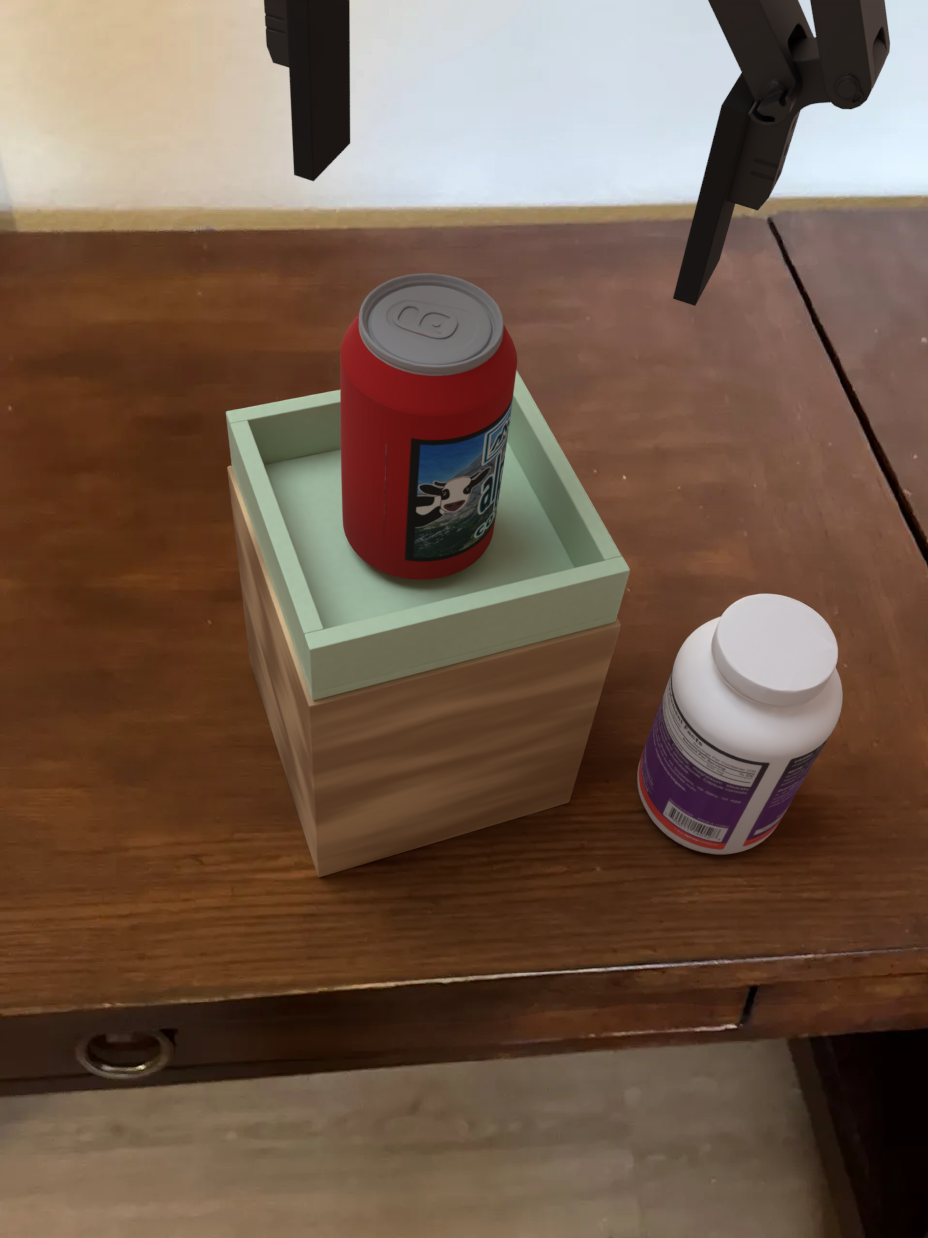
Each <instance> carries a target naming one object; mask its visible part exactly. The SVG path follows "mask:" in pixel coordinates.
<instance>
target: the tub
mask: <svg viewBox="0 0 928 1238" xmlns="http://www.w3.org/2000/svg"><path fill="white" fill-rule="evenodd" d="M225 418H226V428H227V436H228V437H227V438H228V444H229V452H230V453H229V454H230V461H231V462H230V463H231V466H232V469H233V472H234V475H235V478H236V481H237V484H238V487H239V490H240V492H241V495H242V498H243V501H244V504H245V507H246V510H247V513H248V516H249V519H250V521H251V524H252V527H253V530H254V533H255V536H256V539H257V542H258V545H259V548H260V550H261V553H262V556H263V559H264V562H265V565H266V568H267V571H268V574H269V577H270V579H271V582H272V585H273V588H274V591H275V594H276V597H277V600H278V603H279V606H280V608H281V611H282V614H283V617H284V620H285V623H286V626H287V629H288V632H289V635H290V637H291V640H292V643H293V646H294V649H295V652H296V655H297V658H298V661H299V664H300V666H301V669H302V672H303V675H304V678H305V681H306V684H307V687H308V690H309V693H310V695H311V698H312V700H317V699H321V698H325V697H329V696H333V695H337V694H341V693H344V692H348V691H352V690H356V689H360V688H364V687H367V686H371V685H375V684H379V683H383V682H387V681H391V680H394V679H398V678H402V677H406V676H410V675H414V674H417V673H421V672H425V671H429V670H433V669H437V668H441V667H444V666H448V665H452V664H456V663H460V662H464V661H467V660H471V659H475V658H479V657H483V656H487V655H491V654H494V653H498V652H502V651H506V650H510V649H514V648H517V647H521V646H525V645H529V644H533V643H537V642H541V641H544V640H548V639H552V638H556V637H560V636H564V635H567V634H571V633H575V632H579V631H583V630H587V629H591V628H594V627H598V626H602V625H606V624H610V623H614V622H615V621H616V618H617V619H618V614H619V612H620V607H621V605H622V600H623V597H624V593H625V590H626V587H627V583H628V580H629V576H630V573H631V569H630V567H629V565H628V564H627V562H626V560H625V558H624V557H623V556H622V553H621V552H620V550H619V548H618V547H617V545H616V543H615V541H614V539H613V538H612V536H611V534H610V533H609V530H608V529H607V527H606V525H605V524H604V522H603V520H602V518H601V516H600V515H599V513H598V511H597V509H596V508H595V506H594V504H593V502H592V500H591V499H590V497H589V495H588V494H587V491H586V490H585V488H584V486H583V485H582V483H581V480H580V479H579V477H578V475H577V474H576V472H575V471H574V469H573V467H572V465H571V464H570V462H569V460H568V458H567V456H566V455H565V452H564V451H563V449H562V447H561V445H560V444H559V442H558V440H557V439H556V437H555V435H554V433H553V431H552V430H551V428H550V427H549V425H548V422H547V421H546V419H545V417H544V415H543V414H542V412H541V410H540V408H539V406H538V405H537V404H536V402H535V400H534V398H533V396H532V395H531V393H530V391H529V389H528V387H527V385H526V384H525V382H524V380H523V379H522V377H521V375H520V373H519V371H518V370H516V378H515V385H514V393H513V401H512V409H511V417H510V425H509V432H508V439H507V446H506V453H505V460H504V467H503V474H502V481H501V488H500V494H499V500H498V506H497V513H496V519H495V525H494V531H493V536H492V539H491V542H490V544H489V546H488V547H487V549H486V551H485V552H484V553H483V555H482V556H481V557H480V558H479V559H478V560H477V561H476V562H475V563H473V564H472V565H471V566H469V567H467V568H466V569H464V570H462V571H460V572H458V573H456V574H453V575H450V576H446V577H443V578H437V579H430V580H413V579H405V578H400V577H396V576H392V575H389V574H387V573H384V572H382V571H380V570H378V569H376V568H374V567H372V566H371V565H369V564H368V563H366V562H365V561H364V560H363V559H361V558H360V557H359V556H358V555H357V553H356V552H355V551H354V550H353V548H352V547H351V546H350V544H349V542H348V540H347V538H346V536H345V532H344V528H343V517H342V485H341V419H340V389H336V390H332V391H326V392H321V393H316V394H310V395H304V396H300V397H295V398H294V397H293V398H290V399H284V400H280V401H273V402H268V403H264V404H263V403H262V404H258V405H254V406H253V405H252V406H248V407H243V408H238V409H232V410H227V411H225Z"/></svg>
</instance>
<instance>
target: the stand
mask: <svg viewBox="0 0 928 1238" xmlns="http://www.w3.org/2000/svg"><path fill="white" fill-rule="evenodd" d="M226 471H227V478H228V479H227V480H228V486H229V495H230V496H229V497H230V502H231V513H232V521H233V528H234V538H235V544H236V554H237V562H238V571H239V579H240V587H241V588H240V589H241V597H242V605H243V613H244V623H245V629H246V630H245V631H246V638H247V647H248V655H249V656H248V657H249V664H250V666H251V670H252V673H253V676H254V679H255V683H256V686H257V689H258V692H259V695H260V697H261V701H262V705H263V708H264V712H265V715H266V716H267V720H268V723H269V727H270V730H271V733H272V737H273V739H274V743H275V745H276V749H277V752H278V756H279V759H280V762H281V764H282V765H281V766H282V768H283V770H284V774H285V777H286V780H287V783H288V787H289V790H290V792H291V797H292V800H293V802H294V806H295V809H296V812H297V815H298V819H299V821H300V825H301V828H302V831H303V834H304V837H305V839H306V843H307V847H308V850H309V853H310V857H311V859H312V863H313V866H314V869H315V872H316V875H317V878H322V877H326V876H329V875H332V874H336V873H339V872H342V871H345V870H348V869H352V868H356V867H359V866H362V865H365V864H369V863H372V862H376V861H380V860H382V859H385V858H389V857H392V856H395V855H399V854H402V853H405V852H409V851H412V850H415V849H419V848H422V847H425V846H429V845H432V844H435V843H438V842H439V843H440V842H442V841H446V840H449V839H452V838H455V837H458V836H462V835H467V834H468V833H469V834H470V833H472V832H475V831H479V830H483V829H486V828H489V827H492V826H497V825H499V824H502V823H506V822H509V821H512V820H516V819H518V818H522V817H526V816H529V815H532V814H535V813H538V812H542V811H545V810H549V809H553V808H555V807H559V806H562V805H565V804H569V803H570V801H571V799H572V798H571V797H572V795H573V791H574V788H575V784H576V780H577V777H578V774H579V771H580V767H581V763H582V760H583V757H584V755H585V750H586V747H587V744H588V741H589V736H590V733H591V729H592V726H593V723H594V719H595V716H596V712H597V709H598V705H599V702H600V700H601V699H600V698H601V695H602V693H603V692H602V691H603V688H604V685H605V681H606V678H607V675H608V672H609V669H610V664H611V662H612V657H613V654H614V651H615V648H616V643H617V640H618V637H619V633H620V631H621V626H622V624H621V622H620V620H619V618H618V617H617V618H616V621H615V622H614V623H610V624H606V625H602V626H598V627H594V628H591V629H587V630H583V631H579V632H575V633H571V634H567V635H564V636H560V637H556V638H552V639H548V640H544V641H541V642H537V643H533V644H529V645H525V646H521V647H517V648H514V649H510V650H506V651H502V652H498V653H494V654H491V655H487V656H483V657H479V658H475V659H471V660H467V661H464V662H460V663H456V664H452V665H448V666H444V667H441V668H437V669H433V670H429V671H425V672H421V673H417V674H414V675H410V676H406V677H402V678H398V679H394V680H391V681H387V682H383V683H379V684H375V685H371V686H367V687H364V688H360V689H356V690H352V691H348V692H344V693H341V694H337V695H333V696H329V697H325V698H321V699H317V700H312V698H311V695H310V693H309V690H308V687H307V684H306V681H305V678H304V675H303V672H302V669H301V666H300V664H299V661H298V658H297V655H296V652H295V649H294V646H293V643H292V640H291V637H290V635H289V632H288V629H287V626H286V623H285V620H284V617H283V614H282V611H281V608H280V606H279V603H278V600H277V597H276V594H275V591H274V588H273V585H272V582H271V579H270V577H269V574H268V571H267V568H266V565H265V562H264V559H263V556H262V553H261V550H260V548H259V545H258V542H257V539H256V536H255V533H254V530H253V527H252V524H251V521H250V519H249V516H248V513H247V510H246V507H245V504H244V501H243V498H242V495H241V492H240V490H239V487H238V484H237V481H236V478H235V475H234V472H233V469H232V465H229V466H227V467H226Z"/></svg>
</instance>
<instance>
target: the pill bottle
mask: <svg viewBox="0 0 928 1238" xmlns="http://www.w3.org/2000/svg"><path fill="white" fill-rule="evenodd" d="M838 646H839V645H838V642H837V639H836V636H835V634H834V632H833V630H832V628H831V626H830V625H829V623H828V622H827V621H826V620H825V618H824V617H823V616H822V615H820V614H819V613H818V612H817V611H815V609H814V608H812V607H811V606H808V605H807V604H806V603H803V602H802V601H800V600H797V599H795V598H792V597H789V596H786V595H782V594H776V593H757V594H752V595H747V596H744V597H742V598H740V599H738V600H736V601H735V602H733V603H731V604H730V605H729V606H728V607H727V608H726V609H725V610H724V612H723V613H722V614H721V616H718V617H716V618H713V619H711V620H709V621H707V622H705V623H703V624H702V625H700V626H699V627H697V628H696V629H694V631H692V633H690V635H688V636H687V638H686V639H685V641H684V642H683V643H682V645H681V647H680V648H679V650H678V652H677V654H676V656H675V659H674V662H673V665H672V668H671V671H670V674H669V677H668V680H667V683H666V685H665V689H664V691H663V694H662V696H661V699H660V702H659V705H658V708H657V710H656V714H655V716H654V720H653V723H652V724H651V728H650V731H649V732H648V733H649V734H648V735H647V739H646V741H645V744H644V747H643V750H642V753H641V755H640V759H639V762H638V767H637V773H636V774H637V776H636V782H637V783H636V784H637V789H638V795H639V797H640V801H641V803H642V805H643V807H644V810H645V812H646V813H647V815H648V816H649V818H650V819H651V821H652V822H653V823H654V825H656V826H657V828H658V829H659V830H660V831H661V832H662V833H663V834H664V835H666V836H667V837H668V838H670V839H671V840H673V841H674V842H675V843H677V844H679V845H681V846H683V847H685V848H688V849H690V850H693V851H696V852H700V853H705V854H710V855H731V854H737V853H741V852H745V851H747V850H751V849H752V848H754V847H756V846H758V845H760V844H761V843H762V842H764V841H765V840H766V839H767V838H769V836H771V835H772V833H774V831H775V830H776V828H777V827H778V826H779V824H780V822H781V821H782V819H783V817H784V816H785V814H786V812H787V810H788V808H789V807H790V805H791V804H792V802H793V800H794V798H795V796H796V795H797V793H798V791H799V790H800V788H801V786H802V784H803V783H804V781H805V779H806V777H807V776H808V774H809V772H810V771H811V769H812V767H813V765H814V764H815V762H816V760H817V759H818V757H819V755H820V753H821V752H822V750H823V748H824V747H825V745H826V743H827V742H828V740H829V738H830V736H831V735H832V733H833V731H834V730H835V728H836V725H837V724H838V722H839V719H840V716H841V712H842V707H843V696H844V695H843V686H842V685H843V684H842V681H841V677H840V675H839V674H840V673H839V672H838V669H837V668H836V667H837V663H838V659H839V658H838V657H839V648H838Z"/></svg>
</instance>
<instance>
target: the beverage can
mask: <svg viewBox="0 0 928 1238" xmlns="http://www.w3.org/2000/svg"><path fill="white" fill-rule="evenodd" d="M339 353H340V355H339V356H340V357H339V359H340V367H339V369H340V370H339V371H340V373H339V374H340V375H339V376H340V378H339V379H340V385H339V386H340V387H339V388H340V389H339V390H340V419H341V485H342V517H343V528H344V532H345V536H346V538H347V540H348V542H349V544H350V546H351V547H352V548H353V550H354V551H355V552H356V553H357V555H358V556H359V557H360V558H361V559H363V560H364V561H365V562H366V563H368V564H369V565H371V566H372V567H374V568H376V569H378V570H380V571H382V572H384V573H387V574H389V575H392V576H396V577H400V578H405V579H413V580H430V579H437V578H443V577H446V576H450V575H453V574H456V573H458V572H460V571H462V570H464V569H466V568H467V567H469V566H471V565H472V564H473V563H475V562H476V561H477V560H478V559H479V558H480V557H481V556H482V555H483V553H484V552H485V551H486V549H487V547H488V546H489V544H490V542H491V539H492V536H493V531H494V525H495V519H496V513H497V506H498V500H499V494H500V488H501V481H502V474H503V467H504V460H505V453H506V446H507V439H508V432H509V425H510V417H511V409H512V401H513V393H514V385H515V378H516V370H517V369H518V353H517V349H516V346H515V342H514V341H513V338H512V336H511V334H510V333H509V331H508V329H507V327H506V326H505V323H504V317H503V313H502V311H501V309H500V306H499V305H498V303H497V302H496V301H495V300H494V299H493V297H492V296H491V295H490V294H489V293H488V292H486V291H485V290H484V289H482V287H481V288H480V287H479V286H477V285H475V284H474V283H472V282H470V281H467V280H465V279H463V278H460V277H456V276H452V275H447V274H441V273H429V272H425V273H424V272H423V273H421V272H419V273H410V274H405V275H401V276H400V275H399V276H397V277H394V278H391V279H388V280H387V281H384V282H382V283H381V284H379V285H378V286H376V287H375V288H373V289H372V290H371V291H370V292H369V293H368V295H366V297H365V298H364V299H363V301H362V304H361V305H360V309H359V312H358V314H357V315H356V317H354V319H353V320H352V322H351V324H350V325H349V326H348V328H347V330H346V331H345V333H344V335H343V338H342V340H341V344H340V352H339ZM517 371H518V370H517Z"/></svg>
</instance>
